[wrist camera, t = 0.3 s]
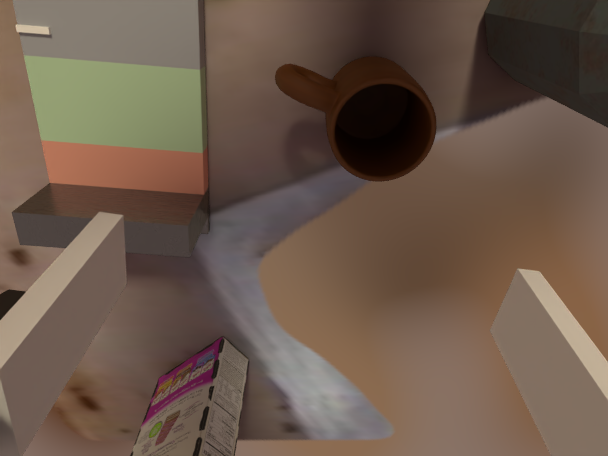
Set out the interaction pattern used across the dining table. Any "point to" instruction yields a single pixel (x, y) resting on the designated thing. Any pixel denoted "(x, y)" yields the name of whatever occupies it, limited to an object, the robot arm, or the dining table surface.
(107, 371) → the dining table surface
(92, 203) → the grey block
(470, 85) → the dining table surface
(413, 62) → the dining table surface
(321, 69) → the dining table surface
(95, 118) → the track
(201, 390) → the candy bar box
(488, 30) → the bottle
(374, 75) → the mug
